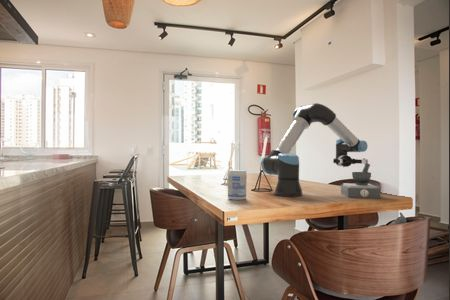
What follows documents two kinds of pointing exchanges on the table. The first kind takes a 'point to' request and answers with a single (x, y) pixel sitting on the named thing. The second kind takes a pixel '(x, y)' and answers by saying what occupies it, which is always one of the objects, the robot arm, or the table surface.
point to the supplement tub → (237, 184)
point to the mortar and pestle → (362, 176)
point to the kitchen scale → (360, 190)
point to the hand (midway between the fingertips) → (353, 161)
